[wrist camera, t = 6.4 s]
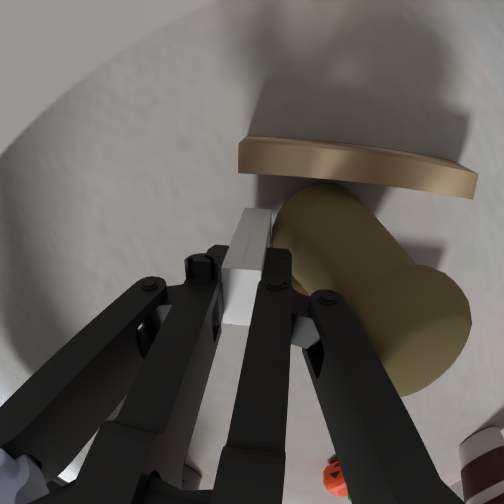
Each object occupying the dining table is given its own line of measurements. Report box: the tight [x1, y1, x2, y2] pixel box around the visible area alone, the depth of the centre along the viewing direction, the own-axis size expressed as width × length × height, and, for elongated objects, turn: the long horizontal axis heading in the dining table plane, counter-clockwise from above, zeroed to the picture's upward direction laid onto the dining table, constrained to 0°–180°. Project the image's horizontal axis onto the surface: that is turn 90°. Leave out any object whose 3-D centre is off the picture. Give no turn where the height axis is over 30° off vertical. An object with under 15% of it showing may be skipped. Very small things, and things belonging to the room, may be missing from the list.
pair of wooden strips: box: [238, 136, 478, 296], centre depth 18 cm, size 13×10×3 cm
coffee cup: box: [459, 427, 504, 504], centre depth 24 cm, size 10×10×15 cm
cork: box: [272, 183, 472, 397], centre depth 14 cm, size 6×6×11 cm
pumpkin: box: [323, 461, 351, 501], centre depth 31 cm, size 7×8×6 cm
